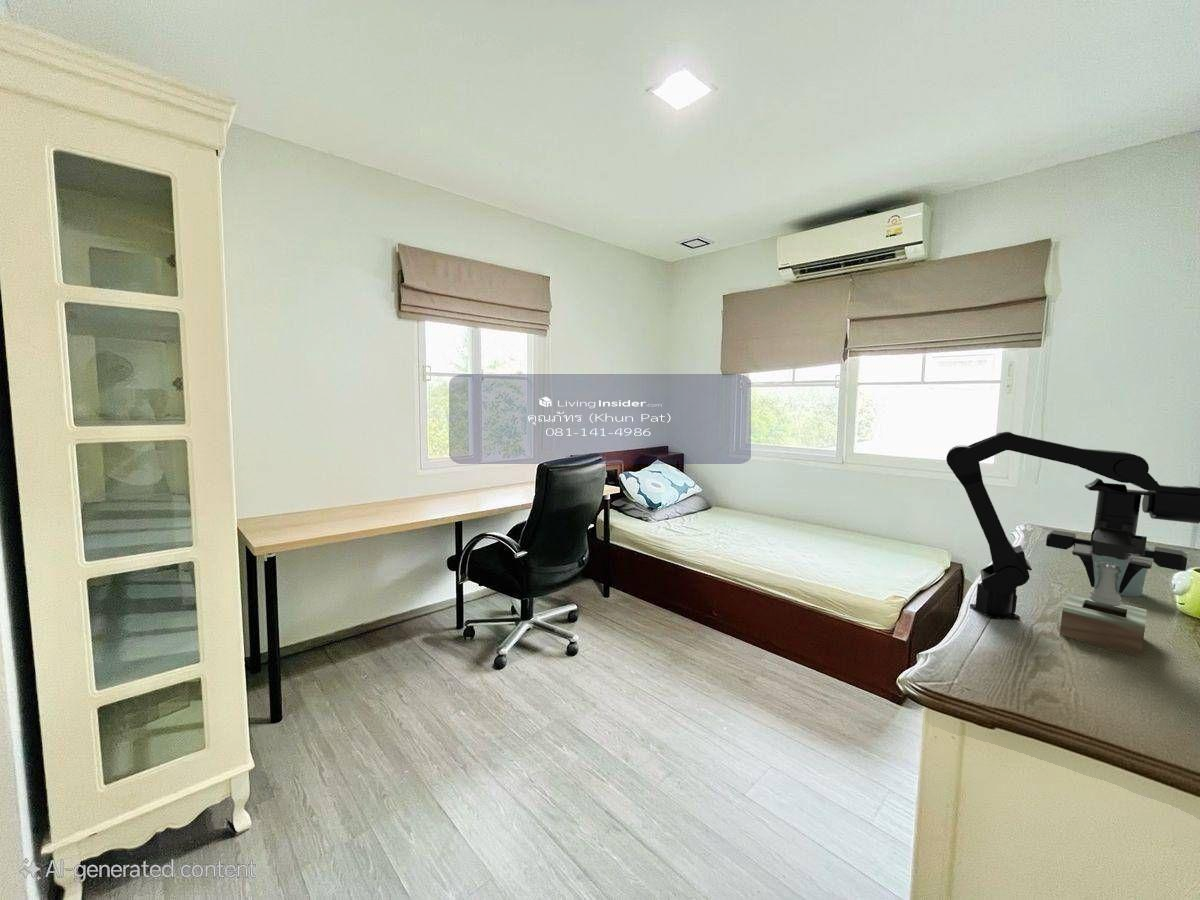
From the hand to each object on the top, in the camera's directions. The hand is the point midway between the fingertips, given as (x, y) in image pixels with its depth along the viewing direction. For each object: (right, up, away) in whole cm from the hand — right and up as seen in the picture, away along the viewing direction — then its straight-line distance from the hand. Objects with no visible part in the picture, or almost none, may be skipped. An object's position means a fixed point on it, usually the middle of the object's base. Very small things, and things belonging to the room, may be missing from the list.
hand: (1106, 589), depth 95 cm
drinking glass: (+31, -8, +26) cm, 41 cm away
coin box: (0, -10, +1) cm, 10 cm away
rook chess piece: (0, -3, 0) cm, 3 cm away
